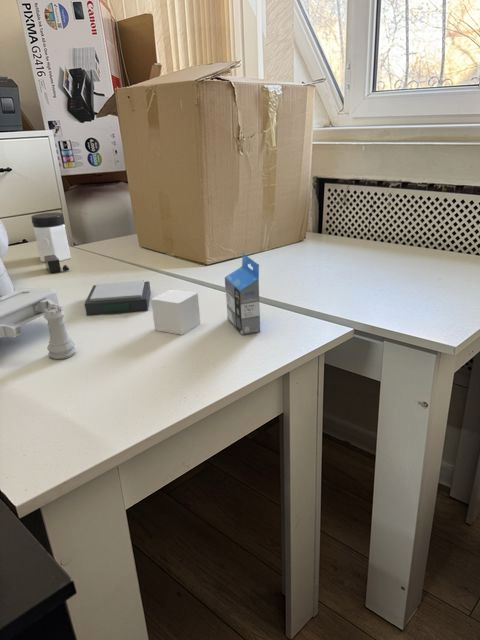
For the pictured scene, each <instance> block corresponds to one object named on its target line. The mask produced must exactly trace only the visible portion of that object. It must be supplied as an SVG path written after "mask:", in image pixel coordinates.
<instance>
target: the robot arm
mask: <svg viewBox="0 0 480 640" xmlns="http://www.w3.org/2000/svg"><path fill="white" fill-rule="evenodd" d="M8 250H9V236H8V232H7V229H6V226H5V224H4V223H3V221H2V220H1V219H0V339H1V338H7V337H8V338H15V337H18V336H19V335H21V334H22V330H21V326H23V325H27V324H28V323H30V322H32V321H34V320H36V319H38V318H40V317H42V316H44V314H45V309H47V308H49V307H50V308H51V310H52V309H53V307H54V306H56V308H57V309H58V307H61V308H62V311H63V312H64V309H63V305H62V304H60V303H59V298H58V295H57V292H56V290H55V289H54V288H47V287H45V288H44V287H43V288H42V287H25V288H20V289H17V290H15V287H14V285H13V282H12V280H11V277H10V276H9V273H8V271H7V269H6V266H5V263H4V262H3V260H4V258H5V257H6V256H7V254H8V252H9V251H8ZM47 311H48V310H47Z"/></svg>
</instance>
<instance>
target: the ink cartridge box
mask: <svg viewBox="0 0 480 640" xmlns="http://www.w3.org/2000/svg"><path fill="white" fill-rule="evenodd" d="M241 257H242V263H241V266H240V267H239V268H237V269H236V270H233V271H232V272H231V273H228V275H226V276H225V277H224V287H225V301H226V302H225V303H226V318H227V320H228V321H229V322H230V323H231V324H232V325H233V326H234V328H235V329H236V330H237V331H238V332H239V333H240V334H241V335H242V336H245V335H250V334H256V333H260V332H261V312H260V311H261V308H260V264H259V263H257V262H256V261H255V260H253V259H251V258H250V257H249V256H248V255H246V254H245V253H243V252H242V256H241ZM248 265H250V267H251V268H250V267H249V266H248Z"/></svg>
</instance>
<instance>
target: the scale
mask: <svg viewBox="0 0 480 640" xmlns="http://www.w3.org/2000/svg"><path fill="white" fill-rule="evenodd" d="M151 292H152V291H151V283H150V281H149V280H147V281H145V280H129V281H116V282H101V283H96V284H94V285H93V286H92V287H91V289H90V292H89V293H88V296H87V298H86V300H85V302H84V309H85V314H86V316H96V315H97V316H98V315H108V314H121V313H122V314H123V313H132V312H133V313H134V312H146V311H147V312H148V311H149V305H150V301H151V294H152V293H151Z"/></svg>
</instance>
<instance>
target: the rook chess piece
mask: <svg viewBox="0 0 480 640" xmlns="http://www.w3.org/2000/svg"><path fill="white" fill-rule="evenodd" d="M62 309H63V307H62V308H61V307H58V309H57V308H56V306H54V307H53V309H52V310H51V308H50V307H49V308H47V309H45V314H44V315H43V318H44V319H45V320H46V321H47V324H46V326H47V327H48V330H49V341H48V345H47V351H48V352H47V355H48V356H49V357H50V358H51V359H54V360H64V359H67V358H71V357H72V356H74V355H75V353H76V351H77V347H75V346H76V343H75V342H74V340H72V338H71V336H69V334H68V331H67V328H66V325H65V324H66V320H64V316H65V314H66V312H65V311H64V310H63V311H62ZM47 310H48V311H47Z"/></svg>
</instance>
